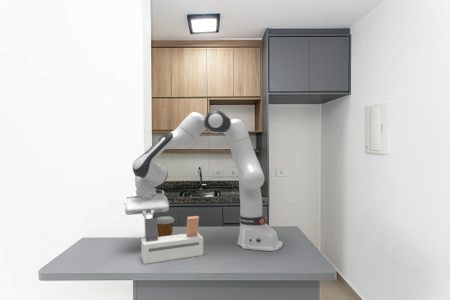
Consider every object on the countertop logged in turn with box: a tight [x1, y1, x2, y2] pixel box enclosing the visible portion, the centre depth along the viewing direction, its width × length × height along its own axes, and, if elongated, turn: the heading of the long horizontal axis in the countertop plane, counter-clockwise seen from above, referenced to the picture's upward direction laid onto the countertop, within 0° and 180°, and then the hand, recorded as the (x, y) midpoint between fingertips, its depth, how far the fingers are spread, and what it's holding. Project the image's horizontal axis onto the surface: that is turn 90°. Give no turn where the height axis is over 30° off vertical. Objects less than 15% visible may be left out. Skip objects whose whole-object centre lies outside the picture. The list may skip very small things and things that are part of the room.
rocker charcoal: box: [144, 217, 158, 241], centre depth 132 cm, size 2×5×9 cm, turn 112°
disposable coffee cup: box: [156, 215, 175, 237], centre depth 156 cm, size 10×10×12 cm
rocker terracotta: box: [185, 215, 200, 236], centre depth 136 cm, size 2×5×9 cm, turn 112°
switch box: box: [140, 232, 204, 265], centre depth 134 cm, size 9×26×8 cm, turn 113°
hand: (149, 219), depth 138 cm, fingers closed
